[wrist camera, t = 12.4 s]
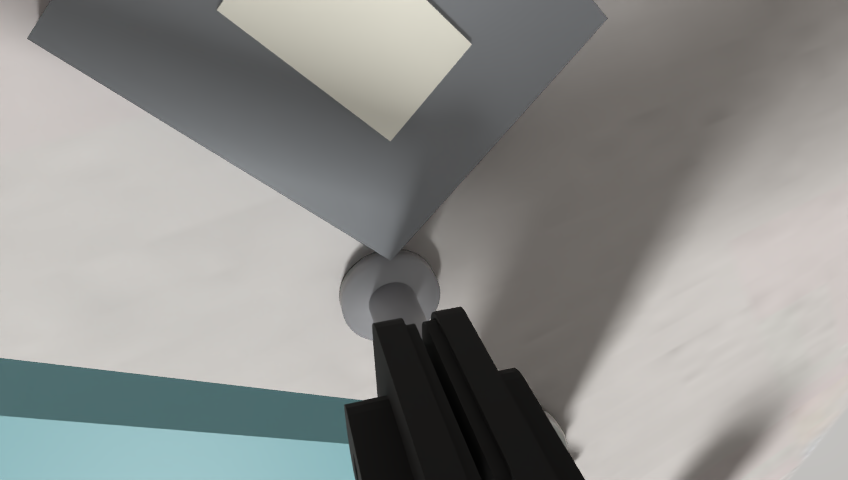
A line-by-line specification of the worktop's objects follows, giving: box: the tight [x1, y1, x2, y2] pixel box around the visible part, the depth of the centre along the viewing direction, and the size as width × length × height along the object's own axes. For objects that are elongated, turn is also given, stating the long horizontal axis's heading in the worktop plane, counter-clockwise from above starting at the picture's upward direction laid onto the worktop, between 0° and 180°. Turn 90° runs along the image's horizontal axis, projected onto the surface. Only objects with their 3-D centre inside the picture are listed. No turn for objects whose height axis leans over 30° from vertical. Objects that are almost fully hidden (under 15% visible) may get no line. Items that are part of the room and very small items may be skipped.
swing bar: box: [0, 358, 363, 480], centre depth 18 cm, size 23×3×3 cm, turn 65°
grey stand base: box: [27, 0, 608, 340], centre depth 21 cm, size 20×18×9 cm
